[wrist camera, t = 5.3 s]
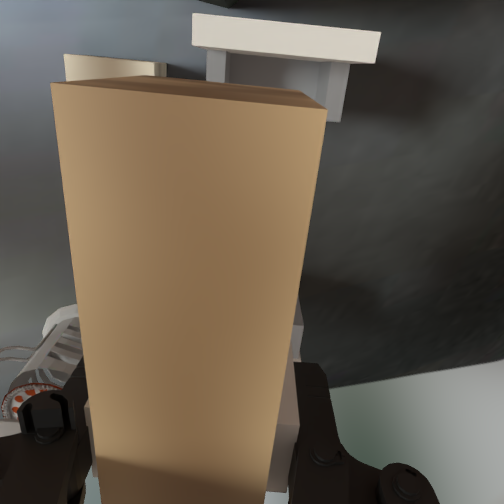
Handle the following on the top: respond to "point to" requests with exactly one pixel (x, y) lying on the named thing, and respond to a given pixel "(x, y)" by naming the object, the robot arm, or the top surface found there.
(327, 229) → the top surface
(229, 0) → the wine bottle
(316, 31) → the brackets
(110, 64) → the spacers
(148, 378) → the rail
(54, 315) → the french press
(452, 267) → the top surface
